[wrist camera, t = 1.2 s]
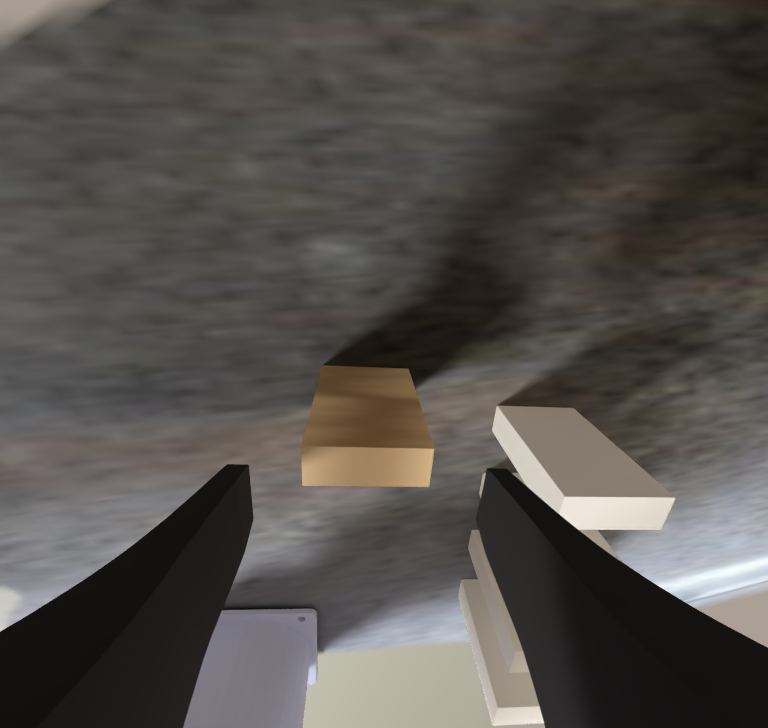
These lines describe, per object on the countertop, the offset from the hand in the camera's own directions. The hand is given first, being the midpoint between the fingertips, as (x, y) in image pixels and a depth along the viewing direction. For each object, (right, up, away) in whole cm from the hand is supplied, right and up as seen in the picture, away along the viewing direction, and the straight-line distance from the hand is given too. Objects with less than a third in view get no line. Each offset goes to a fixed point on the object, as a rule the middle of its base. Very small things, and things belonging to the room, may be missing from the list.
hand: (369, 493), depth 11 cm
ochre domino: (-1, +3, +8) cm, 8 cm away
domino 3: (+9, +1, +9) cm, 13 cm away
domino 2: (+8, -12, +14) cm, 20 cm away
